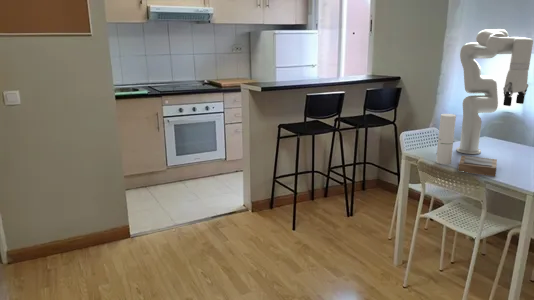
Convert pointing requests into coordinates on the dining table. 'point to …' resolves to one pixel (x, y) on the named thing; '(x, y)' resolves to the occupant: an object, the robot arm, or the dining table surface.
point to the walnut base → (478, 165)
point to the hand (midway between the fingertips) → (513, 104)
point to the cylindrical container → (445, 138)
